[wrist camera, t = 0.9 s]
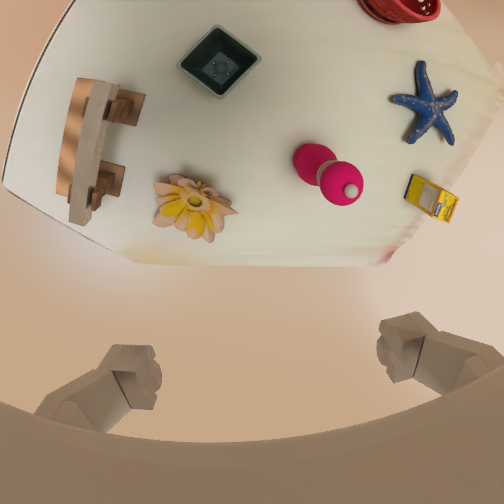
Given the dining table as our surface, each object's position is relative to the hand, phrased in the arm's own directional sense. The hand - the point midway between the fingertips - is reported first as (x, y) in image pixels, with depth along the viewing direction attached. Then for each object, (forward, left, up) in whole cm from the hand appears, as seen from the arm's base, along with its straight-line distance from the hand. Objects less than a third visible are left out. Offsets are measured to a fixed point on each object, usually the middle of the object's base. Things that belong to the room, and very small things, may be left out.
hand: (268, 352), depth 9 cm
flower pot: (-13, -8, -44) cm, 46 cm away
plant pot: (-42, +14, -44) cm, 62 cm away
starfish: (-26, +31, -44) cm, 60 cm away
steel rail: (+5, -22, -34) cm, 40 cm away
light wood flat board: (+6, -31, -44) cm, 54 cm away
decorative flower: (+12, -4, -44) cm, 46 cm away
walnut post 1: (-2, -22, -44) cm, 49 cm away
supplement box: (-8, +39, -44) cm, 60 cm away
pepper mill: (-3, +13, -44) cm, 46 cm away
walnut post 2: (+12, -22, -44) cm, 50 cm away
